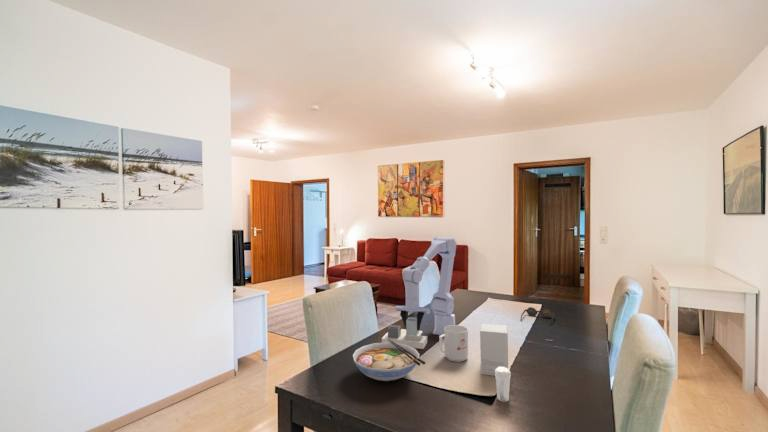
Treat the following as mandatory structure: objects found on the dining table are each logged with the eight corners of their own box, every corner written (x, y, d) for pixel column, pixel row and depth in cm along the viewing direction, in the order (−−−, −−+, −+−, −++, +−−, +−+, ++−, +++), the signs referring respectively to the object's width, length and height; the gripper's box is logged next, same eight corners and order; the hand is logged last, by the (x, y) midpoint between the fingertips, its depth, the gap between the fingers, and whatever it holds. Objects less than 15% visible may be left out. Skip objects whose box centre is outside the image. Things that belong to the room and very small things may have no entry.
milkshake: (489, 395, 104) (489, 362, 104) (506, 394, 104) (506, 361, 104) (495, 403, 99) (495, 369, 99) (513, 402, 100) (513, 368, 100)
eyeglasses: (554, 319, 180) (554, 309, 180) (551, 327, 168) (551, 316, 168) (524, 315, 188) (524, 306, 188) (519, 322, 175) (519, 312, 175)
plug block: (419, 332, 148) (418, 317, 148) (416, 335, 143) (416, 320, 143) (408, 331, 149) (408, 316, 149) (406, 334, 145) (406, 319, 145)
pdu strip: (427, 342, 148) (427, 326, 148) (423, 349, 140) (423, 332, 140) (387, 337, 153) (387, 322, 153) (381, 344, 146) (381, 328, 146)
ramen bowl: (343, 367, 124) (342, 344, 124) (400, 356, 133) (400, 335, 133) (367, 401, 101) (367, 374, 101) (434, 386, 110) (434, 360, 110)
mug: (457, 351, 138) (457, 323, 137) (473, 359, 130) (472, 330, 130) (433, 357, 132) (432, 328, 132) (447, 366, 124) (447, 335, 124)
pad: (422, 332, 161) (422, 330, 161) (417, 339, 151) (417, 338, 151) (401, 329, 164) (401, 328, 164) (396, 337, 154) (396, 336, 154)
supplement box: (508, 367, 123) (507, 325, 123) (508, 378, 115) (508, 333, 115) (481, 363, 126) (481, 322, 126) (480, 374, 118) (479, 330, 118)
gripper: (393, 298, 144) (393, 330, 144) (427, 300, 140) (427, 334, 140) (397, 294, 151) (397, 325, 151) (430, 296, 147) (430, 328, 147)
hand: (412, 329), depth 146 cm, fingers closed on plug block, 4 cm apart
